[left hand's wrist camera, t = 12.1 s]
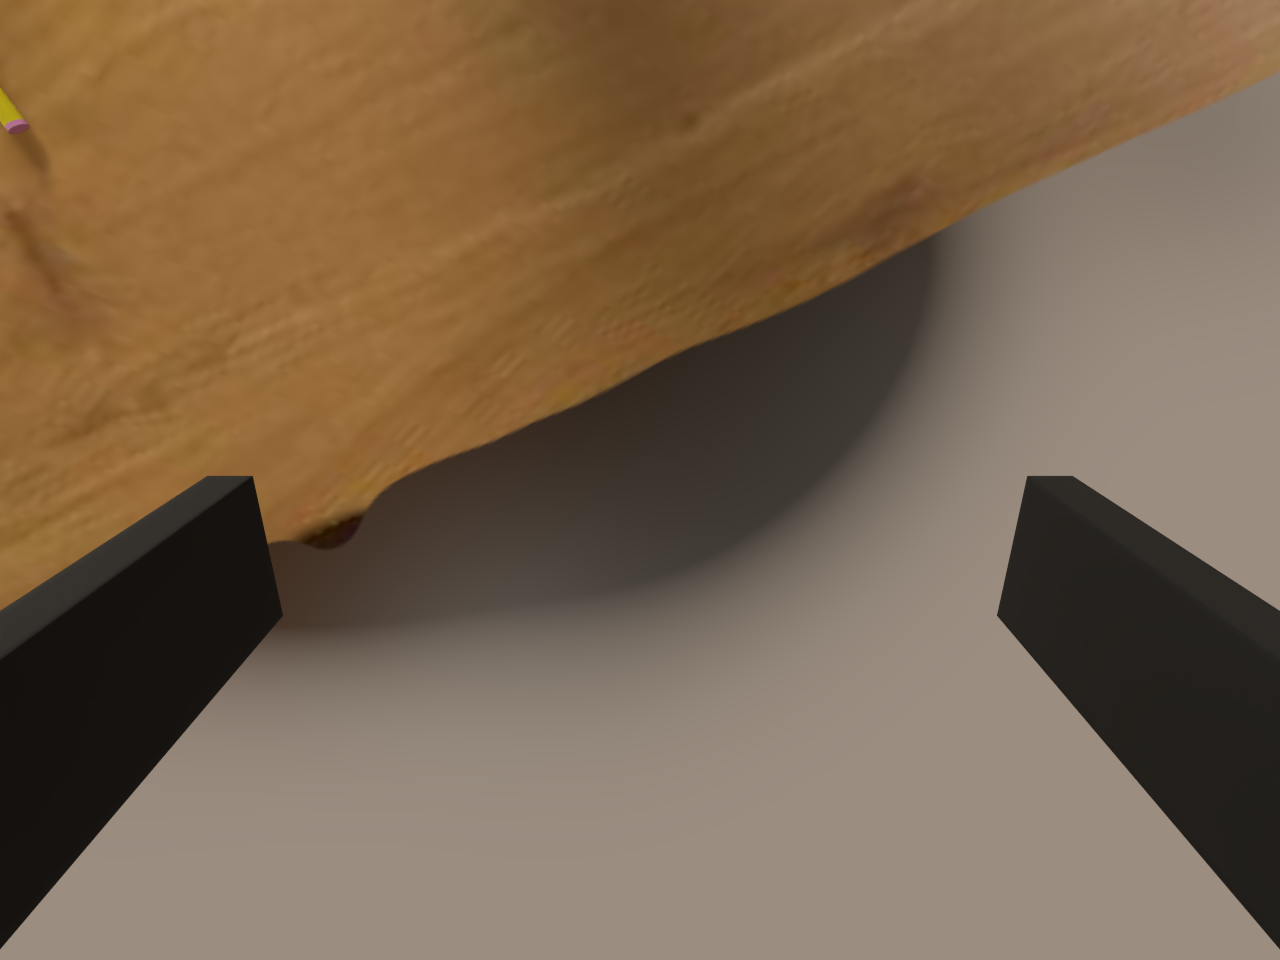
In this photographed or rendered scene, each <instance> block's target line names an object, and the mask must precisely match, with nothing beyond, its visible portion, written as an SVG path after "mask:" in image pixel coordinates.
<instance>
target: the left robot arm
mask: <svg viewBox="0 0 1280 960" xmlns="http://www.w3.org/2000/svg"><path fill="white" fill-rule="evenodd" d="M282 616H283V614H282V609H281V605H280V600H279V595H278V591H277V586H276V582H275V577H274V572H273V568H272V563H271V559H270V554H269V549H268V545H267V540H266V535H265V531H264V526H263V522H262V517H261V512H260V508H259V503H258V498H257V494H256V489H255V485H254V480H253V476H207V477H205V478H204V479H202V480H201V481H199V482H197V483H196V484H194V485H193V486H191V487H190V488H188V489H187V490H185V491H184V492H182V493H181V494H179V495H178V496H176V497H174V498H173V499H171V500H170V501H168V502H167V503H165V504H164V505H162V506H161V507H159V508H158V509H156V510H154V511H153V512H151V513H150V514H148V515H147V516H145V517H144V518H142V519H141V520H139V521H138V522H136V523H135V524H133V525H131V526H130V527H128V528H127V529H125V530H124V531H122V532H121V533H119V534H118V535H116V536H115V537H113V538H112V539H110V540H108V541H107V542H105V543H104V544H102V545H101V546H99V547H98V548H96V549H95V550H93V551H92V552H90V553H88V554H87V555H85V556H84V557H82V558H81V559H79V560H78V561H76V562H75V563H73V564H72V565H70V566H69V567H67V568H65V569H64V570H62V571H61V572H59V573H58V574H56V575H55V576H53V577H52V578H50V579H49V580H47V581H45V582H44V583H42V584H41V585H39V586H38V587H36V588H35V589H33V590H32V591H30V592H29V593H27V594H26V595H24V596H22V597H21V598H19V599H18V600H16V601H15V602H13V603H12V604H10V605H9V606H7V607H6V608H4V609H3V610H1V611H0V949H1V948H2V946H3V945H4V944H5V943H6V942H7V941H8V939H9V938H10V937H11V936H12V935H13V933H14V932H15V931H16V930H17V929H18V928H19V926H20V925H21V924H22V923H23V922H24V921H25V919H26V918H27V917H28V916H29V915H30V913H31V912H32V911H33V910H34V909H35V908H36V906H37V905H38V904H39V903H40V902H41V900H42V899H43V898H44V897H45V896H46V894H47V893H48V892H49V891H50V890H51V889H52V887H53V886H54V885H55V884H56V883H57V882H58V880H59V879H60V878H61V877H62V876H63V874H64V873H65V872H66V871H67V870H68V869H69V867H70V866H71V865H72V864H73V863H74V862H75V860H76V859H77V858H78V857H79V856H80V854H81V853H82V852H83V851H84V850H85V848H86V847H87V846H88V845H89V844H90V843H91V841H92V840H93V839H94V838H95V837H96V836H97V834H98V833H99V832H100V831H101V830H102V828H103V827H104V826H105V825H106V824H107V823H108V821H109V820H110V819H111V818H112V817H113V815H114V814H115V813H116V812H117V811H118V810H119V808H120V807H121V806H122V805H123V804H124V803H125V801H126V800H127V799H128V798H129V797H130V795H131V794H132V793H133V792H134V791H135V789H136V788H137V787H138V786H139V785H140V784H141V782H142V781H143V780H144V779H145V778H146V776H147V775H148V774H149V773H150V772H151V771H152V769H153V768H154V767H155V766H156V765H157V763H158V762H159V761H160V760H161V759H162V758H163V756H164V755H165V754H166V753H167V752H168V751H169V749H170V748H171V747H172V746H173V745H174V744H175V742H176V741H177V740H178V739H179V738H180V736H181V735H182V734H183V733H184V732H185V731H186V729H187V728H188V727H189V726H190V725H191V723H192V722H193V721H194V720H195V719H196V718H197V716H198V715H199V714H200V713H201V712H202V710H203V709H204V708H205V707H206V706H207V705H208V703H209V702H210V701H211V700H212V699H213V697H214V696H215V695H216V694H217V693H218V692H219V690H220V689H221V688H222V687H223V686H224V685H225V683H226V682H227V681H228V680H229V679H230V677H231V676H232V675H233V674H234V673H235V672H236V670H237V669H238V668H239V667H240V666H241V664H242V663H243V662H244V661H245V660H246V659H247V657H248V656H249V655H250V654H251V653H252V651H253V650H254V649H255V648H256V647H257V646H258V644H259V643H260V642H261V641H262V640H263V638H264V637H265V636H266V635H267V634H268V633H269V631H270V630H271V629H272V628H273V627H274V625H275V624H276V623H277V622H278V621H279V620H280V618H281V617H282ZM997 616H998V617H999V618H1000V620H1001V621H1002V622H1003V623H1004V624H1005V626H1006V627H1007V628H1008V629H1009V630H1010V631H1011V633H1012V634H1013V635H1014V636H1015V637H1016V638H1017V640H1018V641H1019V642H1020V643H1021V644H1022V646H1023V647H1024V648H1025V649H1026V650H1027V651H1028V653H1029V654H1030V655H1031V656H1032V657H1033V659H1034V660H1035V661H1036V662H1037V663H1038V664H1039V666H1040V667H1041V668H1042V669H1043V670H1044V672H1045V673H1046V674H1047V675H1048V676H1049V677H1050V679H1051V680H1052V681H1053V682H1054V683H1055V684H1056V686H1057V687H1058V688H1059V689H1060V690H1061V692H1062V693H1063V694H1064V695H1065V696H1066V697H1067V699H1068V700H1069V701H1070V702H1071V703H1072V705H1073V706H1074V707H1075V708H1076V709H1077V710H1078V712H1079V713H1080V714H1081V715H1082V716H1083V717H1084V719H1085V720H1086V721H1087V722H1088V723H1089V725H1090V726H1091V727H1092V728H1093V729H1094V730H1095V732H1096V733H1097V734H1098V735H1099V736H1100V738H1101V739H1102V740H1103V741H1104V742H1105V744H1106V745H1107V746H1108V747H1109V748H1110V749H1111V751H1112V752H1113V753H1114V754H1115V755H1116V756H1117V758H1118V759H1119V760H1120V761H1121V762H1122V764H1123V765H1124V766H1125V767H1126V768H1127V769H1128V771H1129V772H1130V773H1131V774H1132V775H1133V777H1134V778H1135V779H1136V780H1137V781H1138V782H1139V784H1140V785H1141V786H1142V787H1143V788H1144V790H1145V791H1146V792H1147V793H1148V794H1149V795H1150V797H1151V798H1152V799H1153V800H1154V801H1155V802H1156V804H1157V805H1158V806H1159V807H1160V808H1161V810H1162V811H1163V812H1164V813H1165V814H1166V815H1167V817H1168V818H1169V819H1170V820H1171V821H1172V823H1173V824H1174V825H1175V826H1176V827H1177V828H1178V830H1179V831H1180V832H1181V833H1182V834H1183V836H1184V837H1185V838H1186V839H1187V840H1188V841H1189V843H1190V844H1191V845H1192V846H1193V847H1194V849H1195V850H1196V851H1197V852H1198V853H1199V854H1200V856H1201V857H1202V858H1203V859H1204V860H1205V862H1206V863H1207V864H1208V865H1209V866H1210V867H1211V869H1212V870H1213V871H1214V872H1215V873H1216V874H1217V876H1218V877H1219V878H1220V879H1221V880H1222V882H1223V883H1224V884H1225V885H1226V886H1227V887H1228V889H1229V890H1230V891H1231V892H1232V893H1233V895H1234V896H1235V897H1236V898H1237V899H1238V900H1239V902H1240V903H1241V904H1242V905H1243V906H1244V908H1245V909H1246V910H1247V911H1248V912H1249V913H1250V915H1251V916H1252V917H1253V918H1254V919H1255V920H1256V922H1257V923H1258V924H1259V925H1260V926H1261V928H1262V929H1263V930H1264V931H1265V932H1266V933H1267V935H1268V936H1269V937H1270V938H1271V939H1272V941H1273V942H1274V943H1275V944H1276V945H1277V946H1278V948H1279V949H1280V611H1279V610H1277V609H1276V608H1274V607H1273V606H1271V605H1270V604H1268V603H1267V602H1265V601H1264V600H1262V599H1260V598H1259V597H1258V596H1256V595H1254V594H1253V593H1251V592H1250V591H1248V590H1247V589H1245V588H1244V587H1242V586H1241V585H1239V584H1238V583H1236V582H1235V581H1233V580H1231V579H1230V578H1228V577H1227V576H1225V575H1224V574H1222V573H1221V572H1219V571H1218V570H1216V569H1215V568H1213V567H1211V566H1210V565H1208V564H1207V563H1205V562H1204V561H1202V560H1201V559H1199V558H1198V557H1196V556H1195V555H1193V554H1192V553H1190V552H1188V551H1187V550H1185V549H1184V548H1182V547H1181V546H1179V545H1178V544H1176V543H1175V542H1173V541H1172V540H1170V539H1168V538H1167V537H1165V536H1164V535H1162V534H1161V533H1159V532H1158V531H1156V530H1155V529H1153V528H1152V527H1150V526H1148V525H1147V524H1145V523H1144V522H1142V521H1141V520H1139V519H1138V518H1136V517H1135V516H1133V515H1132V514H1130V513H1129V512H1127V511H1126V510H1124V509H1122V508H1121V507H1119V506H1118V505H1116V504H1115V503H1113V502H1112V501H1110V500H1109V499H1107V498H1106V497H1104V496H1102V495H1101V494H1099V493H1098V492H1096V491H1095V490H1093V489H1092V488H1090V487H1089V486H1087V485H1086V484H1084V483H1083V482H1081V481H1079V480H1078V479H1076V478H1075V477H1073V476H1027V480H1026V485H1025V489H1024V494H1023V499H1022V503H1021V508H1020V512H1019V517H1018V522H1017V526H1016V531H1015V535H1014V540H1013V545H1012V549H1011V554H1010V558H1009V563H1008V568H1007V572H1006V577H1005V581H1004V586H1003V591H1002V595H1001V600H1000V605H999V609H998V614H997Z"/></svg>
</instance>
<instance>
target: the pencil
mask: <svg viewBox="0 0 1280 960" xmlns="http://www.w3.org/2000/svg"><path fill="white" fill-rule="evenodd" d="M0 122H1V123H2V124H3V126H4V127H5V128H6V130H7V131H8V132H9V133H11V134H17V133H21V132H23V131H25V130H27V129H28V128H29V125H28V123H27V122H26V120H25V119H24V118H23V117H22V115H21V114H20V113H19V111H18V110H17V109H16V107H15V106H14V105H13V103H12V102H11V101H10V99H9V98H8V97H7V95H6V94H5V93H4V91H3V90H2V89H1V88H0Z"/></svg>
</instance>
